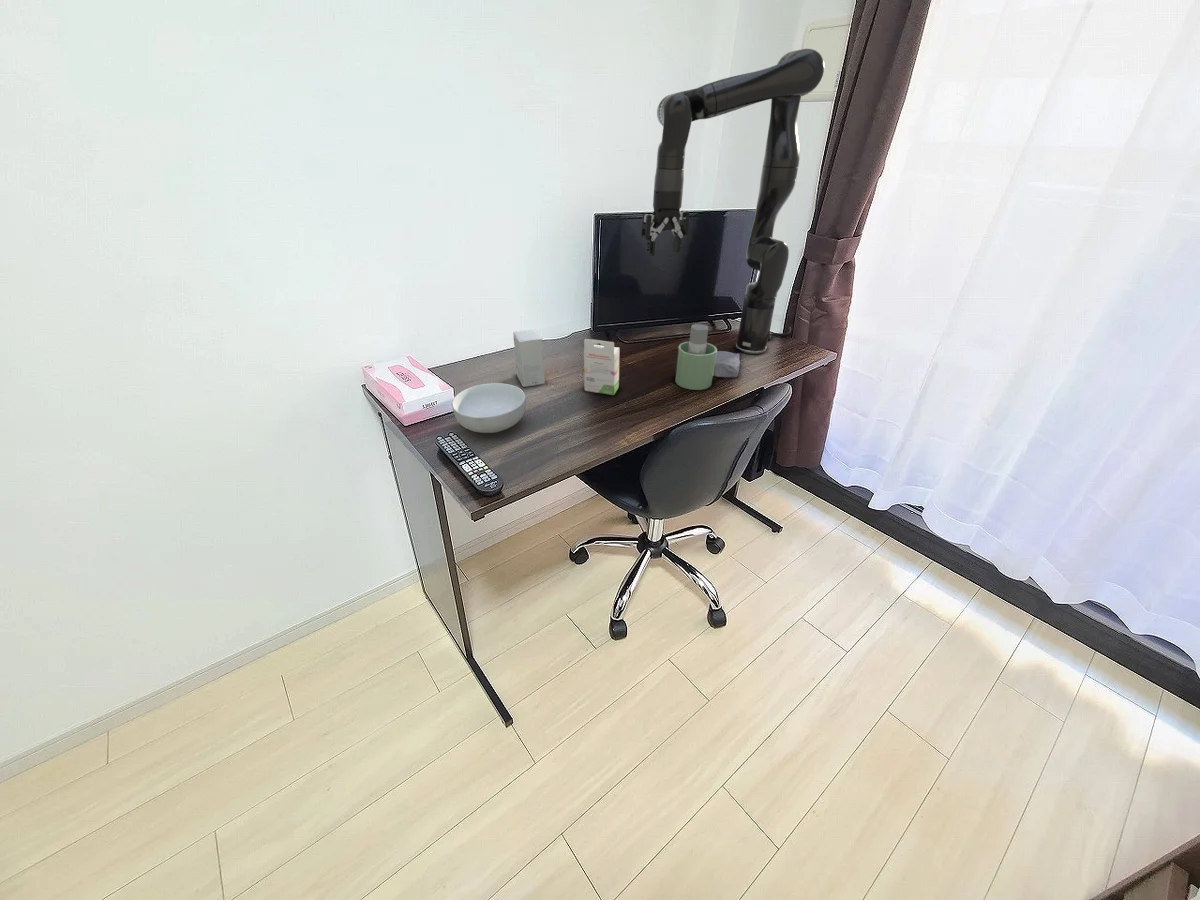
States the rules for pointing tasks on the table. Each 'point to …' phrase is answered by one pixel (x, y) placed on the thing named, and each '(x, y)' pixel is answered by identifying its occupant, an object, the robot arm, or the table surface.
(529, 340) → the small box
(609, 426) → the table surface
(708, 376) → the pen cup
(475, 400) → the cereal bowl
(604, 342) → the ink box
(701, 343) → the container
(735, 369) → the stone block
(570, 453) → the table surface
